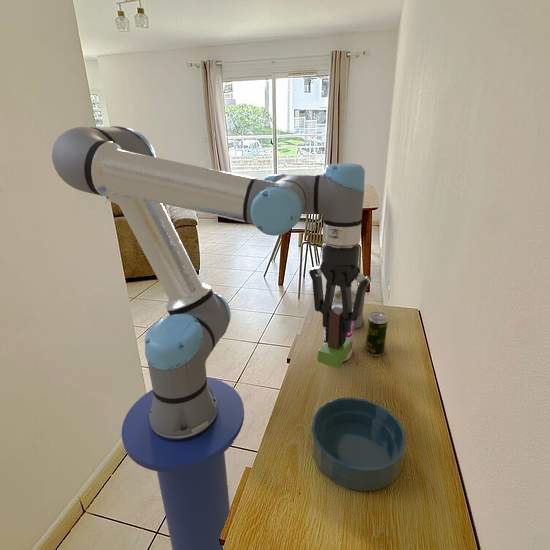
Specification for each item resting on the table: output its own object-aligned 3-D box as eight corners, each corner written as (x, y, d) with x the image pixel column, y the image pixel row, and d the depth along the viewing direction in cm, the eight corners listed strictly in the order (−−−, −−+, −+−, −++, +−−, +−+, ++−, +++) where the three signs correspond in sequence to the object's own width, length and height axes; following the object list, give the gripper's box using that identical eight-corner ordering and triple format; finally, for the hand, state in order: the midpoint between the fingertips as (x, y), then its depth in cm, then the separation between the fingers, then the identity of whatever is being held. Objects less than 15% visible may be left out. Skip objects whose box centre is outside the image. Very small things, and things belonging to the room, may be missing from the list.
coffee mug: (336, 312, 128) (337, 287, 124) (364, 317, 125) (366, 291, 121) (326, 330, 117) (327, 303, 113) (357, 336, 113) (359, 309, 109)
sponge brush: (338, 368, 78) (341, 321, 74) (317, 361, 81) (319, 315, 76) (351, 350, 85) (354, 305, 80) (331, 344, 87) (333, 300, 83)
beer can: (372, 344, 109) (376, 309, 105) (387, 351, 105) (392, 316, 101) (361, 350, 106) (364, 315, 102) (376, 358, 102) (380, 322, 98)
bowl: (295, 465, 70) (296, 443, 68) (331, 407, 85) (332, 387, 82) (388, 511, 62) (392, 487, 59) (410, 438, 76) (414, 417, 74)
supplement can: (356, 354, 104) (361, 309, 99) (339, 366, 99) (343, 319, 93) (334, 343, 110) (337, 300, 104) (317, 354, 105) (319, 309, 99)
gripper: (298, 242, 73) (298, 340, 82) (373, 254, 66) (363, 360, 75) (314, 233, 79) (312, 325, 88) (384, 243, 72) (373, 343, 80)
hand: (335, 341), depth 81 cm, fingers closed on sponge brush, 2 cm apart
